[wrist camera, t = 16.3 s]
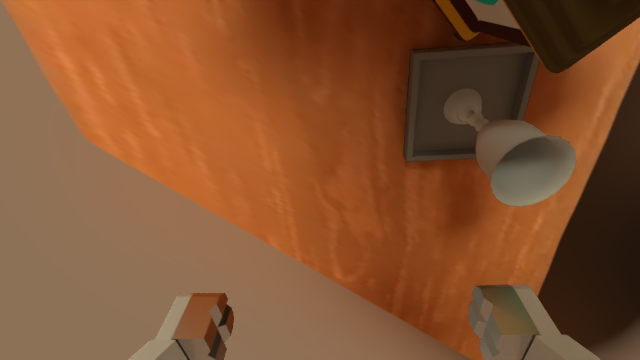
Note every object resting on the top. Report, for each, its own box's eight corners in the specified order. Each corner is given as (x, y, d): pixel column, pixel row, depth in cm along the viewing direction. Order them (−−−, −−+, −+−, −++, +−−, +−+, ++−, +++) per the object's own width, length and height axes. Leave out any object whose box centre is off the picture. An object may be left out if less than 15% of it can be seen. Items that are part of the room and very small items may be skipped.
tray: (410, 50, 40) (414, 53, 38) (532, 41, 39) (544, 44, 37) (403, 153, 48) (406, 161, 46) (504, 149, 47) (512, 156, 45)
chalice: (452, 73, 41) (522, 125, 25) (499, 87, 41) (595, 147, 26) (427, 124, 44) (475, 196, 29) (471, 136, 45) (540, 213, 30)
